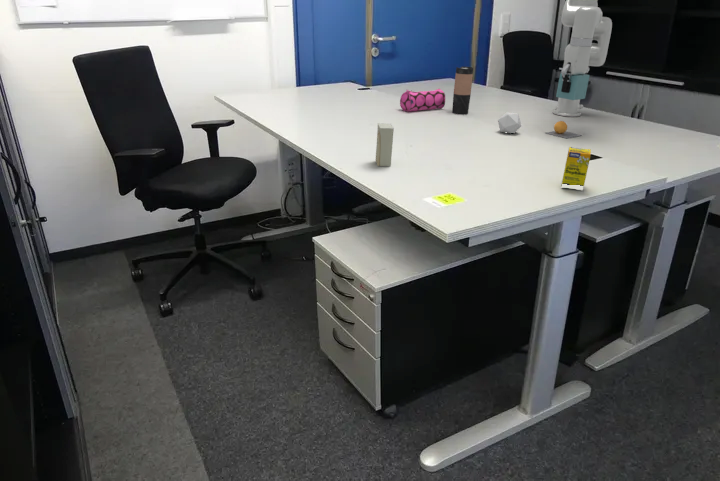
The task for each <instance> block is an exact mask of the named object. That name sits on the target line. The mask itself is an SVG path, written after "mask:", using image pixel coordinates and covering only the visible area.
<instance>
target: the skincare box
mask: <svg viewBox="0 0 720 481" xmlns="http://www.w3.org/2000/svg"><path fill="white" fill-rule="evenodd" d="M394 129H395V128H394V126H393V124H392V123H380V122H379V123H377V132H376V134H377V135H376V136H377V137H376V147H375V163H376V165H377V167H391V166H392V152H393V141H394Z"/></svg>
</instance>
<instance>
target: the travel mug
mask: <svg viewBox="0 0 720 481" xmlns="http://www.w3.org/2000/svg"><path fill="white" fill-rule="evenodd" d="M473 75H474V67H471V66H460V67H458V66H456V68H455V77H454V85H453V95H452V96H453V97H452V111H451V112H452V114H455V115H468V113H469V107H470V103H471V102H470V101H471V96H472V95H471V94H472V86H473V77H474V76H473Z"/></svg>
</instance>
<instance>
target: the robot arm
mask: <svg viewBox="0 0 720 481" xmlns="http://www.w3.org/2000/svg"><path fill="white" fill-rule="evenodd" d="M598 1H599V0H565V1H564V4H563V8H562V13H561V24H562V25H563V26H564V27H568V28H572V32H571V37H570V42H569V44H567V45H566V47H565V49H564V57H563V58H564V59H563V60H564V61H563V65H562V69H561V71H560V73H562V78H563V79H562V81H563V84H562V89H561V92H566V93H569V91H570V86H571V82H570V81H571V78H572V75H582V74H586V75H588V73H589V71H590V67H601V66H604V64H605V62H606V58H607V55H608V49H609V44H610V39H611V34H612V28H613V22H612V21H613V20H612V19H611V18H610V17H607V16H603V11H602V9H601V7H598V6H599V5H598ZM593 41H597V43H595V42H593ZM568 75H570V76H569V78H568ZM557 98H558V100H557V104H556V105H557V106H556V109H552V113H553V115H558V116H562V117H563V116H564V117H573V118H574V117H576V118H577V117H580V116H582V112H580V111H579V110H581V109H583V108H584V105H583V104H581V99H579V100H569V99H564V98H559V97H557Z"/></svg>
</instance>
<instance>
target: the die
mask: <svg viewBox="0 0 720 481" xmlns="http://www.w3.org/2000/svg"><path fill="white" fill-rule="evenodd" d="M497 122H498V127H499V131H501V132H507V133H514V134H515V133H516V132H517V131H519V129H520V128H522V123H521V118H520V114H519V113H514V112H509V111H506V112H505V113H503V115H501V116H500V117H499V118H498V119H497ZM501 132H500V133H501ZM507 133H506V134H507Z"/></svg>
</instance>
